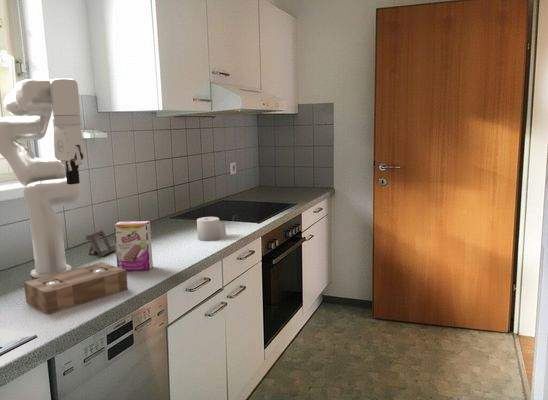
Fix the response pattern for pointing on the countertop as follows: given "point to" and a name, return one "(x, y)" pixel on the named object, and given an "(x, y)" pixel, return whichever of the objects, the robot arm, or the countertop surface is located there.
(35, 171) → the robot arm
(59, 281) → the front peg
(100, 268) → the back peg
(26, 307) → the countertop surface
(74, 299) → the walnut block
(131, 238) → the candy bar box
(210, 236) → the toilet tissue
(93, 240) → the portable electronic device stand
